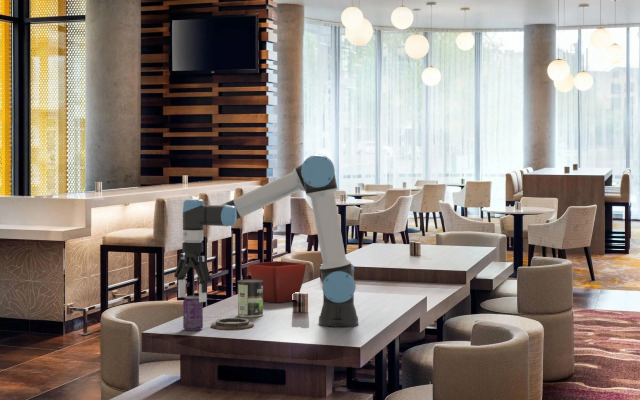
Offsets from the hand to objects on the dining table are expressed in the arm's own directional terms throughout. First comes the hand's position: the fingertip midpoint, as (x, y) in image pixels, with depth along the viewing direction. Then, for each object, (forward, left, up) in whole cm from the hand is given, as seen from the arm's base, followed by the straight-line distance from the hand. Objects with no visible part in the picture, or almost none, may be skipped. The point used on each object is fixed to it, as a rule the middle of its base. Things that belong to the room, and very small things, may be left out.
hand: (192, 299), depth 305 cm
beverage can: (0, 0, -11) cm, 11 cm away
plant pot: (+35, -69, -11) cm, 78 cm away
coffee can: (+11, -35, -11) cm, 39 cm away
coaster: (-4, -15, -11) cm, 19 cm away
